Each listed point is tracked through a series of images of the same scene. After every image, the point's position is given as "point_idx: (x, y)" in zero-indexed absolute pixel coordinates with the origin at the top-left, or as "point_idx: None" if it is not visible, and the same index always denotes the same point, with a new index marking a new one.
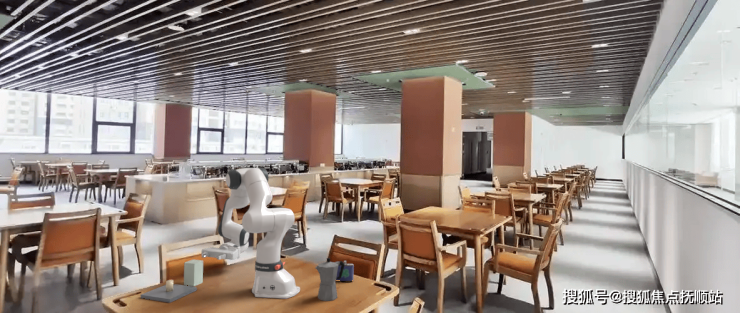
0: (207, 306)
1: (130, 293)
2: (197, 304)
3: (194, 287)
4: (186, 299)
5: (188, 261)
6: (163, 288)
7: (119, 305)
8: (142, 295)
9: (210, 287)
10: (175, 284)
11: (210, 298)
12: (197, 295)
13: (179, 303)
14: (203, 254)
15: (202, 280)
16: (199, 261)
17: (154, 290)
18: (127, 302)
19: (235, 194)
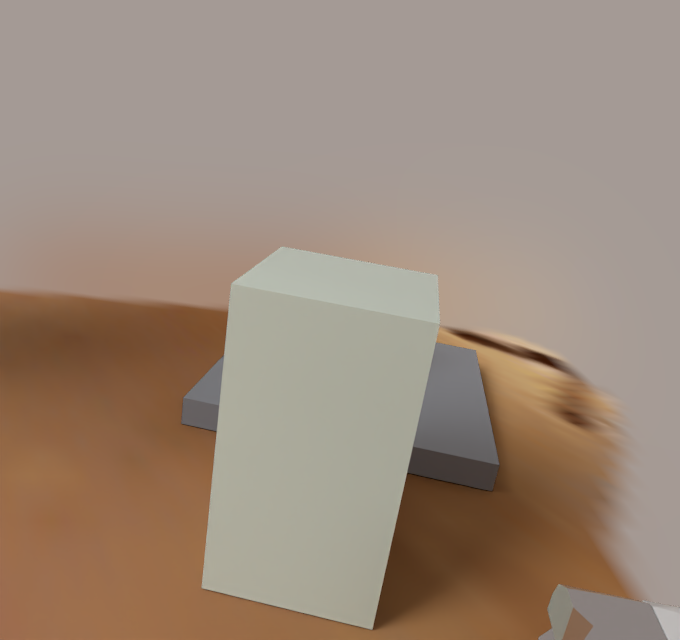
0: (38, 292)
1: (604, 411)
2: (101, 307)
3: (201, 394)
4: (192, 342)
5: (423, 286)
6: (434, 395)
7: (478, 333)
8: (460, 349)
9: (57, 468)
10: (417, 445)
11: (30, 337)
12: (139, 368)
13: (208, 320)
14: (603, 593)
15: (206, 559)
16: (269, 272)
17: (460, 378)
18: (478, 346)
19: None
